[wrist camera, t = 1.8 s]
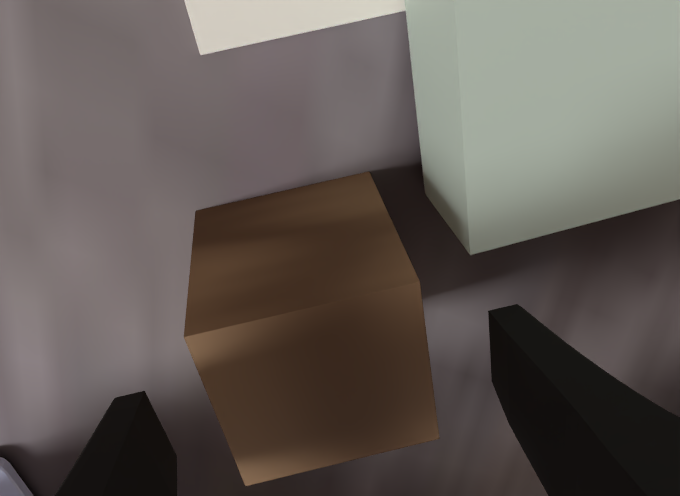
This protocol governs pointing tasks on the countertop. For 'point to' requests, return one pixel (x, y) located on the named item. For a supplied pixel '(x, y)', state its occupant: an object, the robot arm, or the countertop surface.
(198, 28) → the card
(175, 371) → the countertop surface
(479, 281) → the countertop surface
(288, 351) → the walnut block
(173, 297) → the countertop surface
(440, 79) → the plinth
